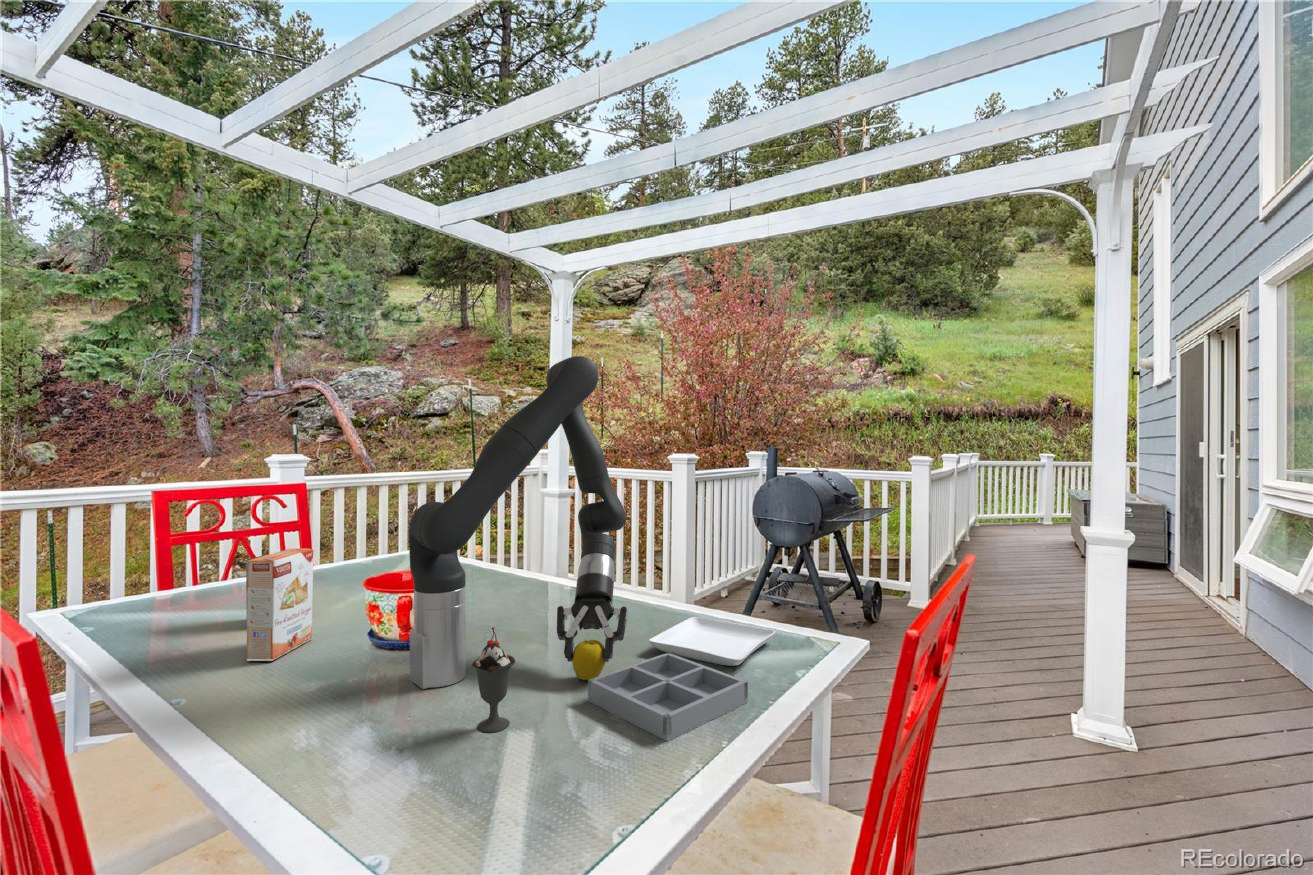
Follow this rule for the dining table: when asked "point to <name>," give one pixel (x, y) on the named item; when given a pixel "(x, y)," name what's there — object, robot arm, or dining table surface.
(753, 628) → the salad plate
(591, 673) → the apple
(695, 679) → the tray
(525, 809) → the dining table surface
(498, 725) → the sundae
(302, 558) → the cracker box
